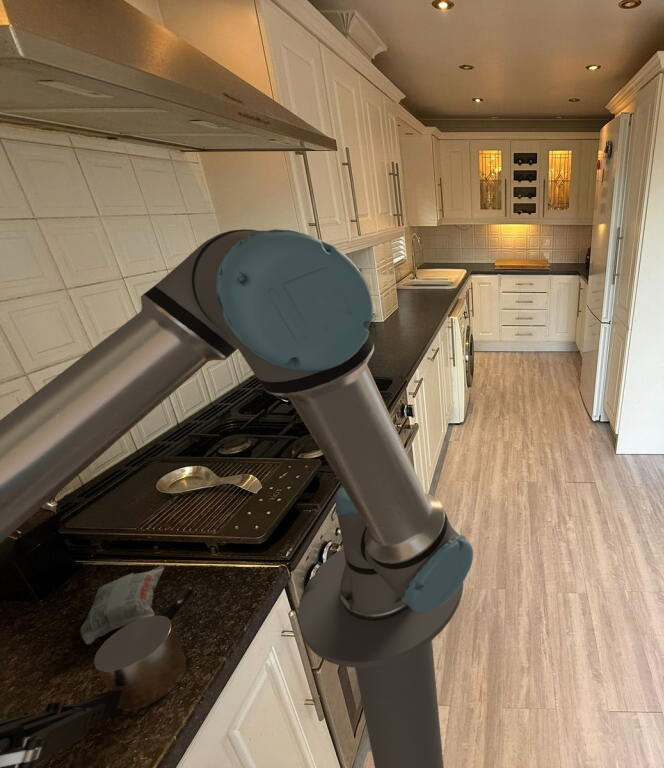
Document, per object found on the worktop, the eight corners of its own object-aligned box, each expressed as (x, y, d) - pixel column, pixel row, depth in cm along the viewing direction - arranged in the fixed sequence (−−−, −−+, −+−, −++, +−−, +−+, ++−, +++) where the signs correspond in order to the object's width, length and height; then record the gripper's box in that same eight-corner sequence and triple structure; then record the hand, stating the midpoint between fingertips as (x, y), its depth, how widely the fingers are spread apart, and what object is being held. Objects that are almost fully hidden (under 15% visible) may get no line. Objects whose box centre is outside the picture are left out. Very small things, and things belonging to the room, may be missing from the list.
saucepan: (225, 613, 69) (213, 577, 66) (160, 709, 55) (141, 669, 52) (176, 615, 69) (161, 579, 66) (99, 712, 55) (76, 672, 52)
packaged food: (168, 576, 76) (159, 556, 74) (157, 627, 66) (146, 605, 65) (106, 597, 72) (95, 576, 70) (84, 654, 62) (71, 632, 61)
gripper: (-282, 877, 29) (46, 743, 51) (-85, 862, 30) (156, 736, 52) (-212, 745, 32) (70, 671, 54) (-34, 734, 33) (173, 665, 55)
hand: (112, 703), depth 53 cm, fingers closed
